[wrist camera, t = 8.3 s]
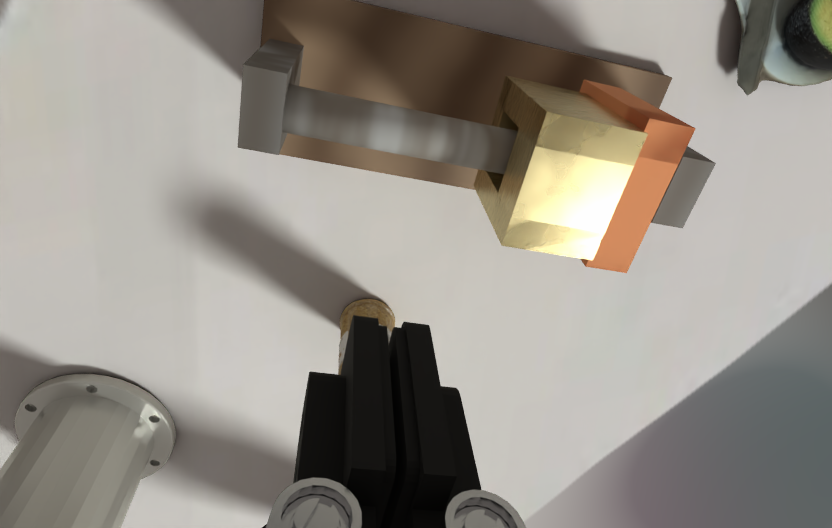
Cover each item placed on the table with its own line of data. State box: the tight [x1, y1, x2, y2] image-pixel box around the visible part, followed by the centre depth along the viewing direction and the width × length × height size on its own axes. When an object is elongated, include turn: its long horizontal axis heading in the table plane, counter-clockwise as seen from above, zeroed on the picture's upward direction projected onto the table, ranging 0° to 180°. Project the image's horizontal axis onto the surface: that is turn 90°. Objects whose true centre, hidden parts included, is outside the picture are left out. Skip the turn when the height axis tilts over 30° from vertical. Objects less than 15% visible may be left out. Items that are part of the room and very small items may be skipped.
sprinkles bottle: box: [338, 299, 395, 375], centre depth 38 cm, size 5×5×13 cm
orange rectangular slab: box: [579, 80, 695, 273], centre depth 31 cm, size 8×2×9 cm, turn 167°
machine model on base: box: [238, 0, 716, 228], centre depth 32 cm, size 26×10×9 cm, turn 77°
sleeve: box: [473, 76, 648, 260], centre depth 29 cm, size 7×5×8 cm
